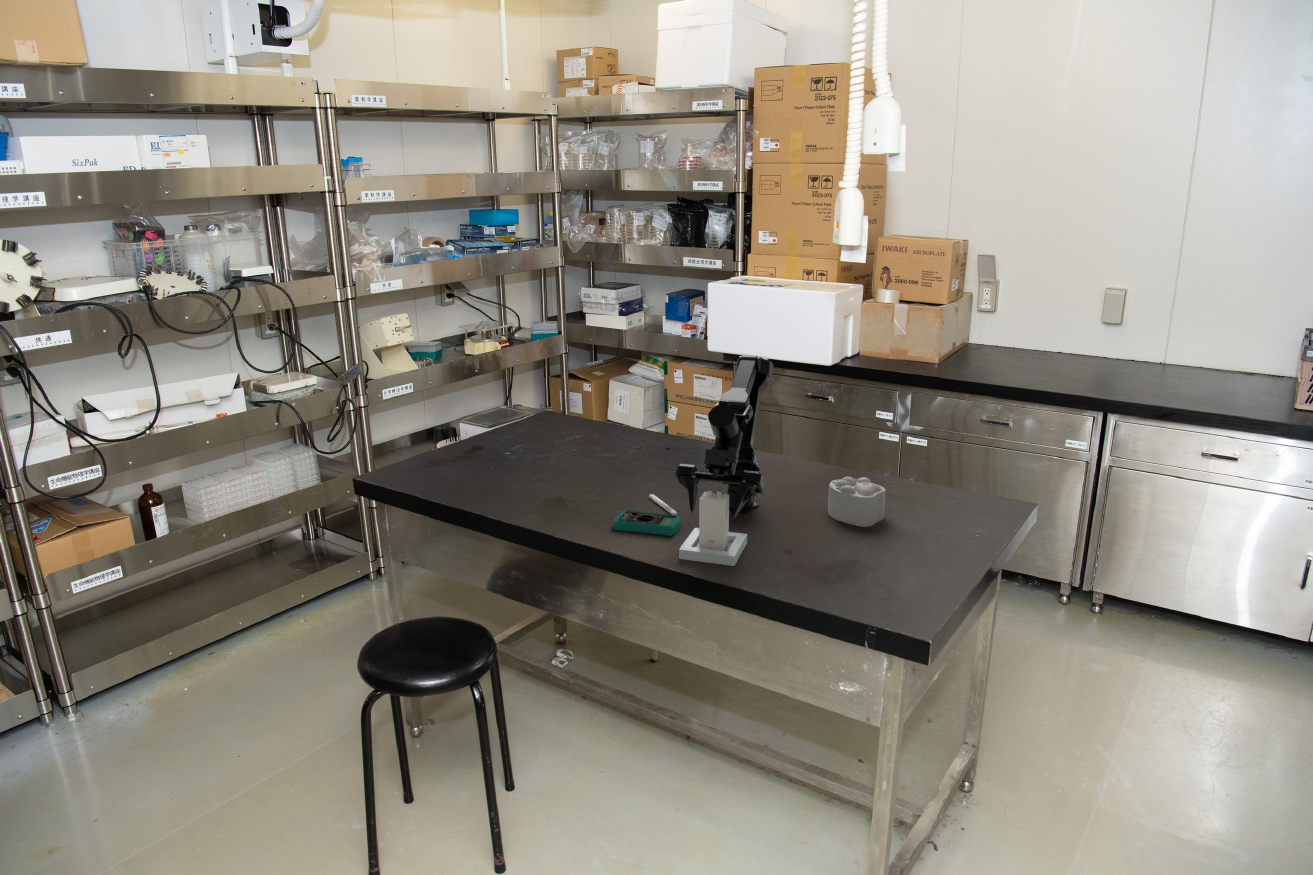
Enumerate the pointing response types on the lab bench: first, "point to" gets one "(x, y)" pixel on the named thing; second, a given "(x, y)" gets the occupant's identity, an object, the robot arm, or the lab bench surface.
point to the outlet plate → (726, 557)
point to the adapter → (713, 521)
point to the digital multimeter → (647, 523)
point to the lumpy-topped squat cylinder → (856, 501)
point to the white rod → (663, 504)
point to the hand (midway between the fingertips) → (712, 514)
